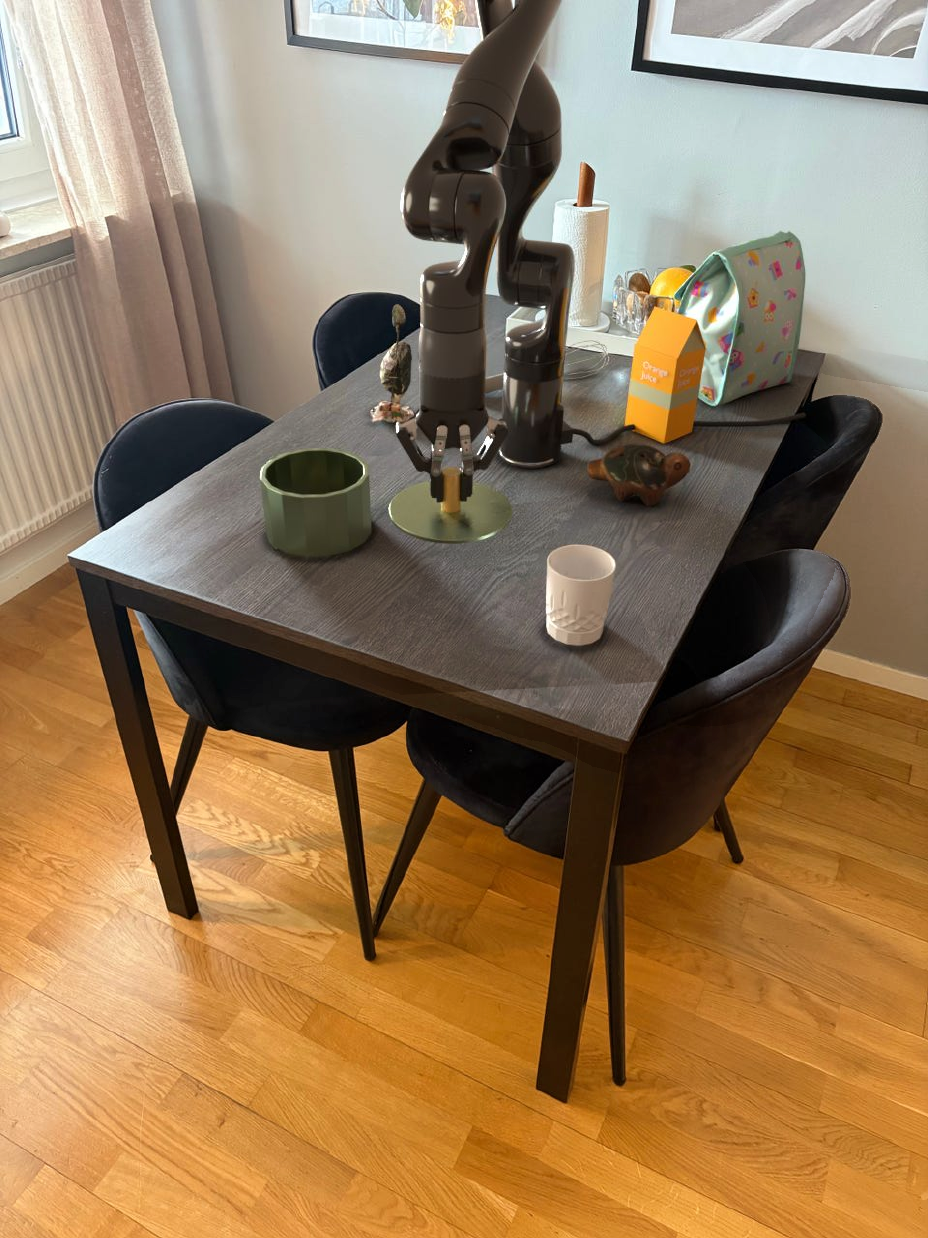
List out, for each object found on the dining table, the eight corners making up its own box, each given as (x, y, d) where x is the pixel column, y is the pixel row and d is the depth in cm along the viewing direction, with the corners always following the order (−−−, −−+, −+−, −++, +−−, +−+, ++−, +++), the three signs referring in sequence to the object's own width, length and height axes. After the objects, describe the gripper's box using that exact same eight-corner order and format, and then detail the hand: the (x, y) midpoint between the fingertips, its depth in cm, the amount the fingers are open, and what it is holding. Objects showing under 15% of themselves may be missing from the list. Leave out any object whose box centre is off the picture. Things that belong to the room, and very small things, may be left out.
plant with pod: (427, 406, 171) (426, 292, 159) (402, 430, 162) (399, 312, 150) (385, 399, 173) (381, 286, 161) (358, 423, 164) (352, 306, 152)
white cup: (537, 614, 119) (542, 545, 113) (599, 612, 119) (608, 543, 113) (547, 653, 112) (553, 581, 106) (613, 650, 113) (622, 579, 107)
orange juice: (663, 443, 159) (681, 324, 148) (623, 426, 165) (638, 310, 153) (692, 431, 164) (712, 314, 152) (652, 415, 169) (669, 301, 157)
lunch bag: (730, 359, 192) (756, 218, 176) (799, 385, 182) (833, 237, 166) (652, 385, 180) (673, 236, 164) (722, 414, 170) (751, 257, 154)
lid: (503, 484, 125) (505, 441, 122) (520, 545, 113) (523, 500, 109) (387, 488, 124) (385, 445, 120) (392, 550, 112) (390, 504, 108)
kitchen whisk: (444, 394, 175) (445, 361, 171) (595, 365, 189) (598, 334, 185) (461, 406, 170) (461, 372, 167) (614, 376, 184) (617, 344, 181)
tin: (370, 506, 140) (367, 446, 135) (372, 557, 129) (370, 495, 123) (270, 509, 139) (264, 449, 133) (264, 562, 127) (256, 498, 122)
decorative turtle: (684, 516, 139) (688, 467, 134) (581, 507, 143) (581, 459, 138) (690, 483, 147) (694, 436, 142) (592, 476, 150) (593, 429, 146)
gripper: (391, 376, 103) (395, 516, 113) (518, 373, 105) (511, 512, 115) (388, 351, 109) (392, 486, 119) (509, 349, 111) (503, 482, 121)
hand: (451, 498), depth 117 cm, fingers closed on lid, 2 cm apart
